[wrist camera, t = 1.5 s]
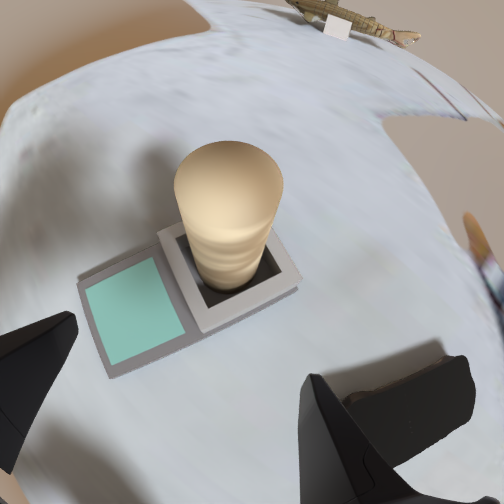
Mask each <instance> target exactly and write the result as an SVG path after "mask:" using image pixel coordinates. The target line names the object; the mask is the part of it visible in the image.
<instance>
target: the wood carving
mask: <svg viewBox="0 0 504 504" xmlns="http://www.w3.org/2000/svg"><path fill="white" fill-rule="evenodd" d="M285 1H286V2H287V3H288V4H290V5H292V6H293V8H294V9H295V10H296V11H297V12H298V13H299V14H300V15H301V16H302V17H303V18H304V19H305V20H306V21H307V22H314V21H318V20H322V21H324V22H326V24H325V28H324V32H323V33H324V34H327V35H330V36H333V37H336V38H339V39H341V40H344V41H346V40H347V39H348V37H349V35H350V32H351V30H354V31H357V32H360V33H363V34H367V35H370V36H374V37H378V38H381V39H384V40H386V41H388V40H391V41H394V42H395V43H396V44H395V43H392V42H390V41H388V42H390V43H392V44H394V45H396V46H398V47H400V48H406V47H408V46H409V45H408V43H407V42H408V40H409V39H412V38H414V42H412V43H411V44H413V43H415V42H416V41H418V40H419V38H420V37H421V35H420V34H419V33H417V32H411V31H395V30H391V29H389V28H387V27H384V26H383V25H381V24H379V23H377V22H376V19H375V18H374V17H369V18H366V17H364V16H362V15H360V14H356V13H354V12H352V11H348V10H346V9H344V8H341V7H339V6H338V1H339V0H325V1H321V0H285ZM301 13H303V14H304V15H303V14H301ZM411 44H410V45H411Z"/></svg>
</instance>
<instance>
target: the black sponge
mask: <svg viewBox="0 0 504 504" xmlns="http://www.w3.org/2000/svg"><path fill="white" fill-rule="evenodd" d="M475 397H476V388H475V383H474V381H473V378H472V376H471V372H470V367H469V363H468V360H467V358H466V357H465V356H464V355H460V356H455V357H454V356H444V357H442V358H441V359H440V361H438V362H436V363H434V364H433V365H431V366H429V367H428V368H425V369H424V370H421V371H419V372H417V373H415V374H413V375H410V376H408V377H406V378H404V379H401V380H399V381H395V382H393V383H390V384H388V385H385V386H383V387H381V388H378V389H377V390H374V391H369V392H367V391H360V392H355V393H352V394H351V395H349V396H347V397H346V398H345V399H344V401H343V402H342V405H343V406H344V408H345V409H346V410H347V412H348V413H349V414H350V416H351V417H352V418H353V420H354V421H355V422H356V424H357V425H358V426H359V428H360V429H361V430H362V432H363V433H364V434H365V436H366V437H367V438H368V440H369V441H370V442H369V443H371V444H372V445H373V446H374V447H375V449H376V450H377V451H378V453H379V454H380V455H381V456H382V457H383V459H384V460H385V461H386V462H387V463H388V464H389V465H390V466H391V467H392V468H394V467H396V466H398V465H400V464H402V463H404V462H406V461H408V460H409V459H411V458H412V457H414V456H416V455H417V454H419V453H421V452H422V451H424V450H425V449H426V448H429V447H430V446H431V445H434V444H435V443H437V442H438V441H439V440H440V439H443V438H445V437H446V436H447V435H448V434H449V433H451V432H452V431H454V430H455V429H457V428H459V427H460V426H462V425H464V424H466V423H467V422H468V421H469V420H470V419H471V416H472V414H473V409H474V404H475Z"/></svg>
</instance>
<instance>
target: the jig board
mask: <svg viewBox="0 0 504 504" xmlns="http://www.w3.org/2000/svg"><path fill="white" fill-rule="evenodd" d="M157 235H158V237H159V240H160V243H158V244H156V245H153V246H151V247H149V248H147V249H145V250H143V251H141V252H139V253H137V254H134V255H132V256H130V257H128V258H126V259H124V260H122V261H120V262H118V263H116V264H114V265H112V266H110V267H108V268H106V269H104V270H102V271H100V272H98V273H96V274H94V275H92V276H90V277H88V278H86V279H84V280H82V281H80V282H78V283H77V288H78V292H79V295H80V299H81V302H82V306H83V309H84V312H85V316H86V319H87V322H88V325H89V328H90V331H91V334H92V337H93V339H94V342H95V345H96V348H97V350H98V353H99V355H100V358H101V360H102V363H103V365H104V368H105V370H106V372H107V375H108V377H109V379H114V378H116V377H119V376H121V375H124V374H126V373H129V372H131V371H133V370H136V369H138V368H141V367H143V366H145V365H148V364H150V363H152V362H154V361H157V360H159V359H161V358H164V357H166V356H168V355H170V354H173V353H175V352H177V351H179V350H181V349H183V348H186V347H188V346H190V345H192V344H194V343H196V342H198V341H201V340H203V339H205V338H207V337H209V336H211V335H213V334H215V333H217V332H219V331H221V330H223V329H225V328H227V327H229V326H231V325H233V324H235V323H237V322H239V321H241V320H243V319H245V318H247V317H249V316H251V315H253V314H255V313H257V312H259V311H261V310H263V309H265V308H267V307H268V306H270V305H272V304H274V303H276V302H278V301H280V300H282V299H283V298H285V297H287V296H289V295H291V294H293V293H294V292H296V291H297V290H298V288H297V285H298V284H299V282H300V281H301V280H302V279H303V277H302V276H301V274H300V272H299V271H298V269H297V267H296V266H295V264H294V262H293V261H292V259H291V257H290V256H289V254H288V252H287V251H286V249H285V247H284V246H283V244H282V242H281V241H280V239H279V238H278V236H277V234H276V233H275V231H274V229H273V228H272V226H271V229H270V232H269V235H268V238H267V241H266V244H265V247H264V250H263V253H262V256H261V259H260V262H259V265H258V268H257V271H256V274H255V277H254V279H253V281H252V282H251V283H250V285H249V286H248V287H246V288H245V289H244V290H242V291H240V292H238V293H234V294H220V293H217V292H214V291H213V290H211V289H209V288H208V287H207V286H206V285H205V284H204V283H203V281H202V280H201V278H200V276H199V273H198V270H197V266H196V263H195V260H194V257H193V254H192V251H191V247H190V244H189V241H188V238H187V234H186V231H185V227H184V224H183V221H180V222H178V223H176V224H173V225H171V226H169V227H167V228H165V229H162V230H160V231H158V232H157Z"/></svg>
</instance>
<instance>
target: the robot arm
mask: <svg viewBox="0 0 504 504" xmlns="http://www.w3.org/2000/svg"><path fill="white" fill-rule="evenodd" d="M77 335H78V325H77V320H76V316H75V314H73V313H71V312H69V311H64V312H61V313H58V314H56V315H53V316H50V317H48V318H45V319H43V320H40V321H37V322H35V323H32V324H30V325H27V326H24V327H22V328H19V329H17V330H14V331H12V332H9V333H6V334H4V335H1V336H0V468H1V469H2V470H4V471H5V472H6V473H8V474H9V475H10V474H11V472H12V470H13V467H14V465H15V462H16V460H17V457H18V455H19V452H20V450H21V447H22V445H23V443H24V440H25V438H26V436H27V434H28V431H29V429H30V427H31V425H32V423H33V421H34V419H35V417H36V415H37V413H38V411H39V409H40V407H41V405H42V403H43V401H44V399H45V397H46V395H47V393H48V391H49V390H50V388H51V386H52V384H53V382H54V381H55V379H56V377H57V375H58V374H59V372H60V370H61V368H62V367H63V365H64V363H65V361H66V359H67V357H68V354H69V352H70V350H71V348H72V346H73V344H74V342H75V340H76V338H77ZM369 442H370V441H369V440H368V438H367V437H366V436H365V434H364V433H363V432H362V430H361V429H360V428H359V426H358V425H357V424H356V422H355V421H354V420H353V418H352V417H351V416H350V414H349V413H348V412H347V410H346V409H345V408H344V406H343V405H342V403H341V402H340V401H339V399H338V398H337V397H336V395H335V394H334V393H333V391H332V390H331V388H330V387H329V386H328V384H327V383H326V382H325V380H324V379H323V378H322V376H321V375H319V374H312V373H311V374H309V375H308V376H307V378H306V380H305V382H304V383H303V385H302V387H301V391H300V404H299V418H298V445H299V470H300V504H500V502H499V501H498V500H497V499H495V498H493V497H489V496H485V497H483V498H481V499H480V500H478V501H476V502H472V503H463V502H457V501H451V500H446V499H441V498H436V497H432V496H428V495H424V494H421V493H419V492H417V491H416V490H414V489H413V488H412V487H411V486H410V485H409V484H407V483H406V482H405V481H404V480H403V479H402V478H401V477H400V476H399V475H398V474H397V473H396V472H395V471H394V469H393V468H392V467H391V466H390V465H389V464H388V463H387V462H386V461H385V460H384V459H383V457H382V456H381V455H380V454H379V453H378V451H377V450H376V449H375V447H374V446H373V445H372V444H371V443H369ZM0 504H8V503H7V502H5V501H4V500H3V499H2V498H1V497H0Z"/></svg>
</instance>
